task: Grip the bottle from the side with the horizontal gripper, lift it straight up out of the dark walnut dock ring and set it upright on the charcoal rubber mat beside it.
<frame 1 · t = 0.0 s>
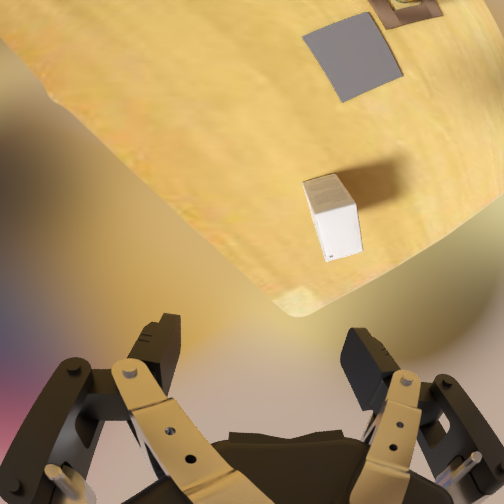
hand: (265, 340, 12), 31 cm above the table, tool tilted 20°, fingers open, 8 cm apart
charcoal mat: (355, 55, 28), on the table
small box: (323, 198, 42), on the table
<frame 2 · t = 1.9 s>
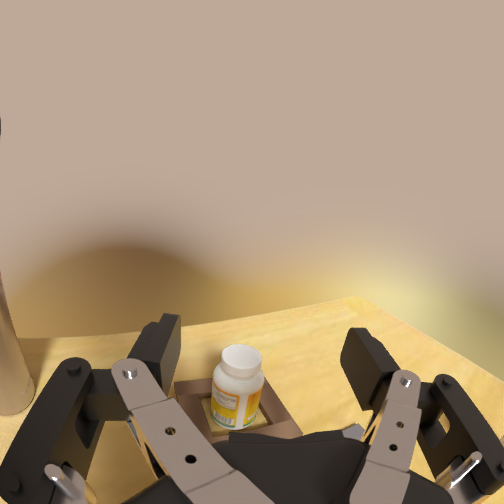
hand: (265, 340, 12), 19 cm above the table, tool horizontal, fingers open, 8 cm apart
supplement bottle: (233, 415, 28), resting in walnut dock
walnut dock: (233, 414, 28), on the table
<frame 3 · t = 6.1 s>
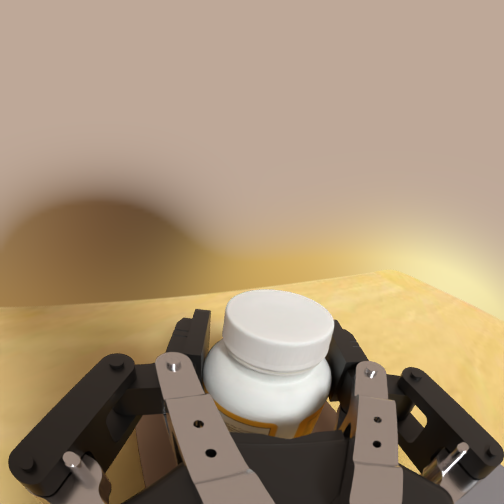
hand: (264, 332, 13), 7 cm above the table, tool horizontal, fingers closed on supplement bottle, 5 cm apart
supplement bottle: (249, 454, 12), resting in walnut dock, touching gripper
walnut dock: (249, 452, 12), on the table
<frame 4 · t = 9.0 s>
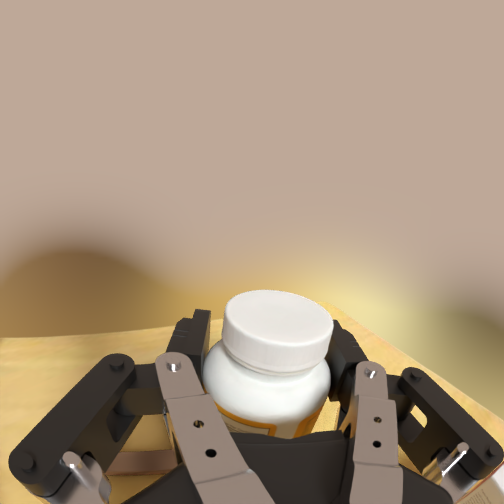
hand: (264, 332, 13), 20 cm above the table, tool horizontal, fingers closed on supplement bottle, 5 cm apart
supplement bottle: (248, 454, 12), point 13 cm above the table, touching gripper
walnut dock: (139, 431, 23), on the table
when the fingers open (8 cm above the table, at t = 11.9 s): supplement bottle stays where it is, resting on charcoal mat.
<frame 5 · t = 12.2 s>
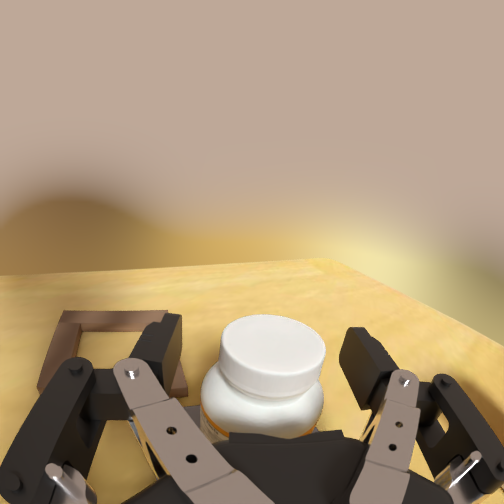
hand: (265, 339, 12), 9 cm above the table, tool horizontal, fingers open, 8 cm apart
supplement bottle: (246, 464, 12), resting on charcoal mat
walnut dock: (111, 352, 21), on the table
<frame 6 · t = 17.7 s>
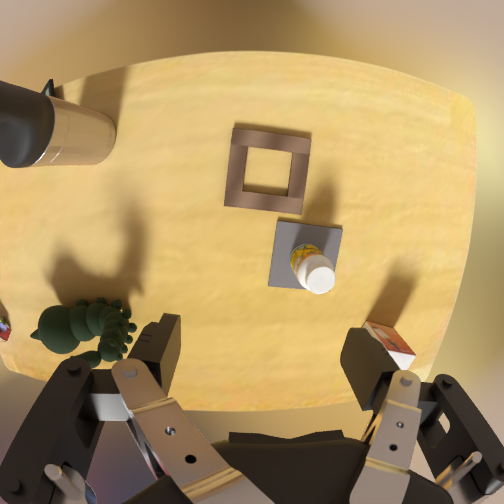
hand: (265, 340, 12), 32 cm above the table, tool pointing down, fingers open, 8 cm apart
calculator: (41, 115, 36), on the table
charcoal mat: (305, 257, 45), on the table
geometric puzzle: (6, 323, 48), on the table
toy figurine: (92, 312, 47), on the table
small box: (373, 334, 51), on the table
supplement bottle: (305, 258, 45), resting on charcoal mat
walnut dock: (267, 171, 41), on the table
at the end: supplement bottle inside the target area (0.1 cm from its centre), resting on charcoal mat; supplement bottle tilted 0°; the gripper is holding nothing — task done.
